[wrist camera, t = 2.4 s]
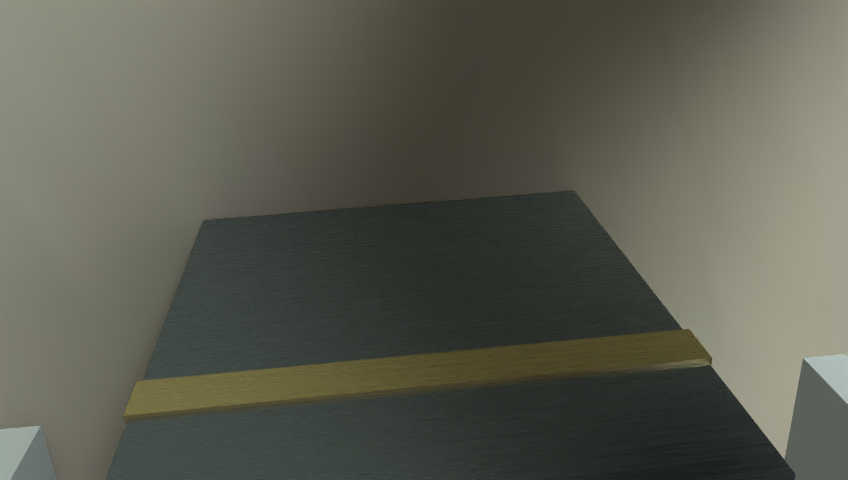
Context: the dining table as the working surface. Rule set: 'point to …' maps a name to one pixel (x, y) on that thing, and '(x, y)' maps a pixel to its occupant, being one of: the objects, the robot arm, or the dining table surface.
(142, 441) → the gold-striped grey cube
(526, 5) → the dining table surface
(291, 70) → the dining table surface
